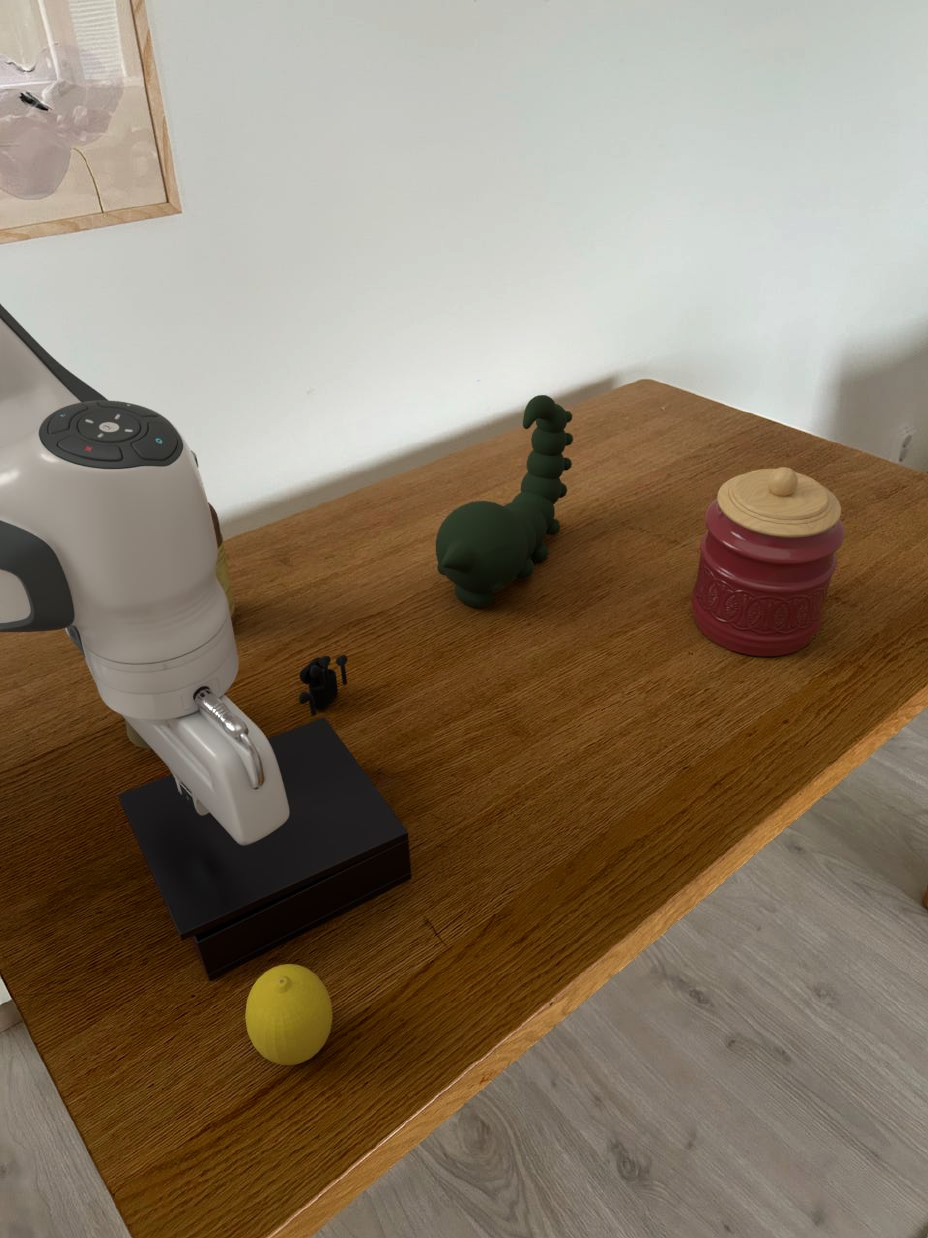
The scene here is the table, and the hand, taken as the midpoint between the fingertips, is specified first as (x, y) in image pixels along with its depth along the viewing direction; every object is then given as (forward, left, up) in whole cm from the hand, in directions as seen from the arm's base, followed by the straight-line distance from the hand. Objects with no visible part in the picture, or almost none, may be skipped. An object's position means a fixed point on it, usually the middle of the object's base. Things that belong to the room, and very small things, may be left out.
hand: (200, 800), depth 70 cm
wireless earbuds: (+15, +15, -10) cm, 24 cm away
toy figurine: (+41, +23, -10) cm, 48 cm away
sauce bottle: (+10, +32, -10) cm, 35 cm away
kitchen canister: (+58, +2, -10) cm, 59 cm away
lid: (+4, 0, -5) cm, 6 cm away
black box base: (+4, 0, -10) cm, 11 cm away
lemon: (-1, -15, -10) cm, 18 cm away
